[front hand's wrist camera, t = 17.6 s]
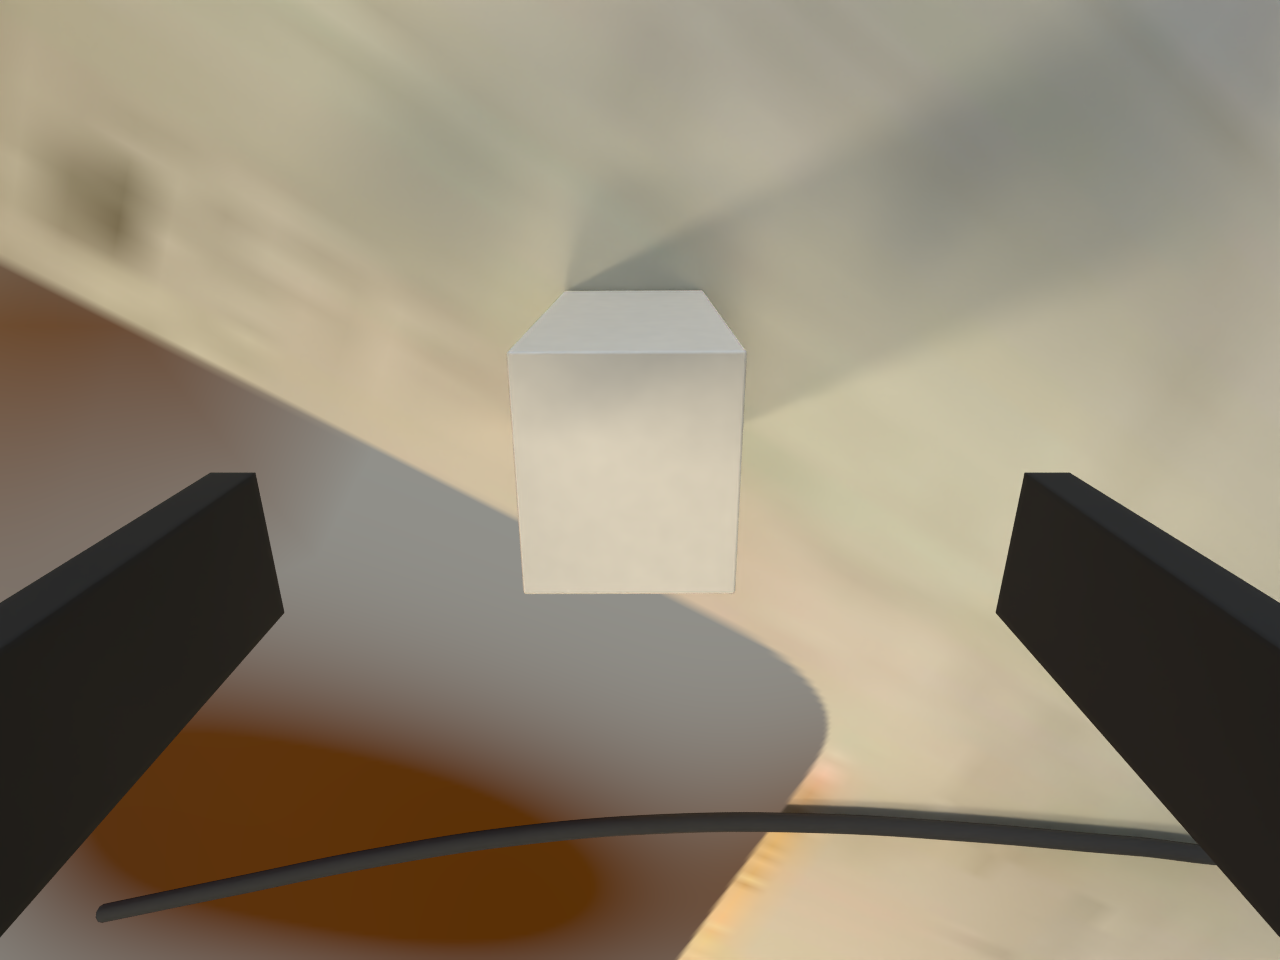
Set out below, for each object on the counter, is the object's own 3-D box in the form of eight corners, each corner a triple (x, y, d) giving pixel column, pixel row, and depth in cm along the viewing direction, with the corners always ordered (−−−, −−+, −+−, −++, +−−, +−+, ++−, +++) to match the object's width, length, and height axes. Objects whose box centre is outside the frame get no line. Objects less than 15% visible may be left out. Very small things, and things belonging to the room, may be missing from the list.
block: (699, 442, 28) (735, 594, 17) (570, 443, 28) (523, 595, 17) (703, 290, 26) (747, 350, 15) (564, 290, 26) (505, 351, 15)
